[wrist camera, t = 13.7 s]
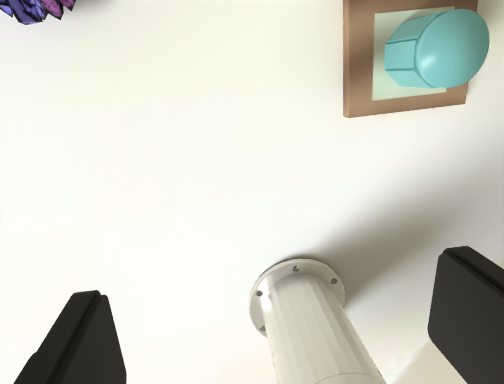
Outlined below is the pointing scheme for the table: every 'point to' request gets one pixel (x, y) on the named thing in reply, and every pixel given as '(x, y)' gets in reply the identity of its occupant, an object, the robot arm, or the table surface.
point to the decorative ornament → (35, 9)
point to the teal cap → (437, 49)
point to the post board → (373, 52)
